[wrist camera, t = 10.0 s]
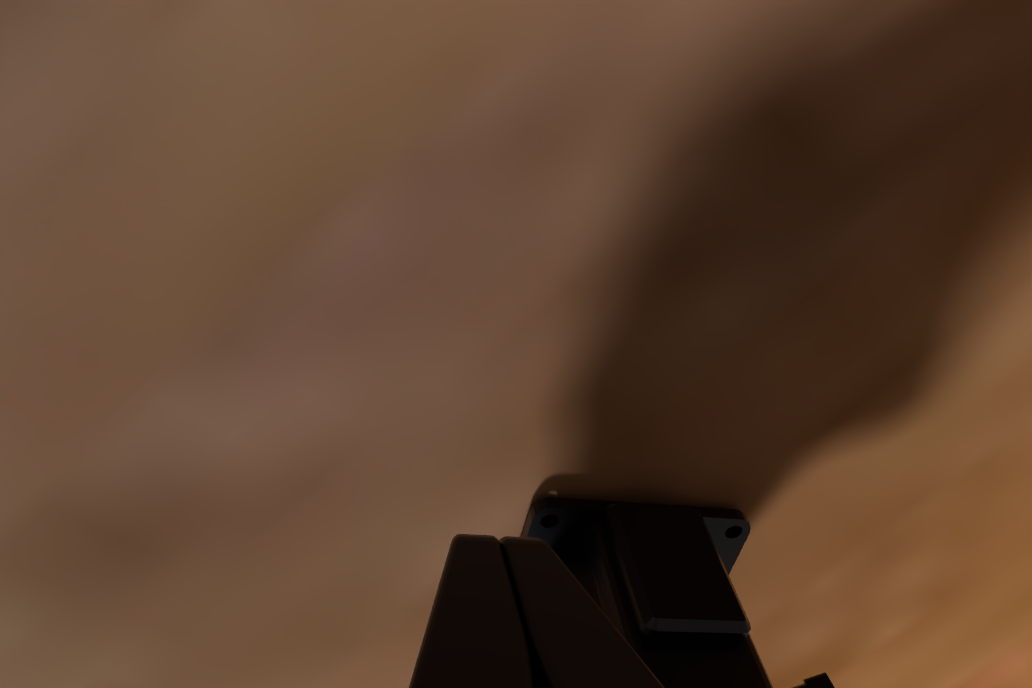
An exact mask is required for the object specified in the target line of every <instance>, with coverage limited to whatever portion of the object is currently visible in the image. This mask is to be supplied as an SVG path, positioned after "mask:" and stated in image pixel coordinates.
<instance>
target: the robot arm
mask: <svg viewBox="0 0 1032 688" xmlns="http://www.w3.org/2000/svg"><path fill="white" fill-rule="evenodd" d="M550 514H553V515H552V516H551V517H546V518H545V517H544V516H546V515H550ZM732 526H733V527H732ZM730 527H731V528H730ZM750 529H751V528H750V525H749V522H748V520H747V518H746V516H745V514H744V513H742V512H741V511H739V510H735V509H721V508H705V507H690V506H675V505H660V504H645V503H630V502H615V501H599V500H584V499H569V498H554V497H550V498H543V499H540V500H538V501H537V502H535V503H534V504H533V505H532V507H531V508H530V511H529V514H528V517H527V520H526V523H525V527H524V530H523V533H522V536H521V537H509V536H507V537H503V538H501V539H500V540H498V539H497V538H495V537H494V536H490V535H470V534H458V535H456V536H455V537H454V538H453V540H452V542H451V545H450V549H449V552H448V556H447V559H446V562H445V566H444V569H443V573H442V576H441V580H440V583H439V586H438V590H437V593H436V597H435V600H434V604H433V607H432V610H431V614H430V617H429V621H428V624H427V627H426V631H425V634H424V638H423V641H422V645H421V648H420V651H419V655H418V658H417V662H416V665H415V668H414V672H413V675H412V679H411V682H410V686H409V688H773V686H772V684H771V682H770V680H769V677H768V675H767V673H766V671H765V668H764V666H763V664H762V661H761V659H760V657H759V655H758V652H757V650H756V648H755V645H754V643H753V641H752V639H751V636H750V634H749V631H750V629H751V627H750V623H749V620H748V618H747V616H746V614H745V611H744V609H743V607H742V605H741V602H740V600H739V598H738V596H737V593H736V591H735V589H734V587H733V584H732V582H731V580H730V578H729V573H730V571H731V569H732V567H733V565H734V563H735V561H736V559H737V557H738V555H739V553H740V551H741V549H742V547H743V545H744V543H745V541H746V539H747V537H748V535H749V533H750ZM793 688H834V686H833V684H832V683H831V681H830V679H829V677H828V676H827V674H826V673H822V674H819V675H816V676H813V677H810V678H807V679H804V684H802V685H799V686H796V687H793Z"/></svg>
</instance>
